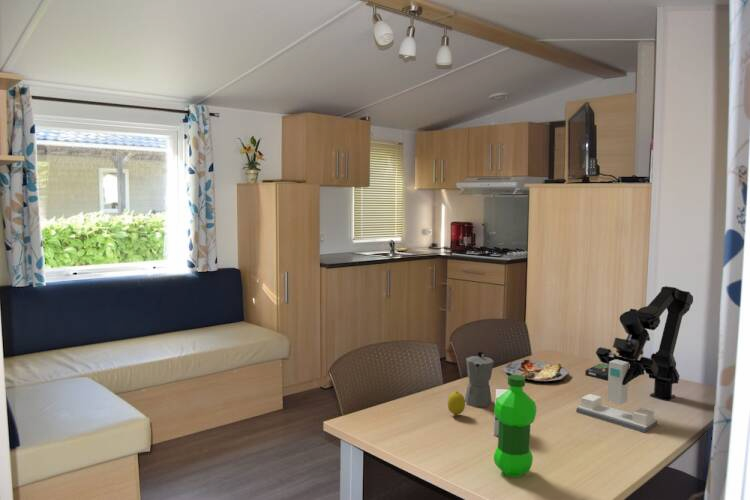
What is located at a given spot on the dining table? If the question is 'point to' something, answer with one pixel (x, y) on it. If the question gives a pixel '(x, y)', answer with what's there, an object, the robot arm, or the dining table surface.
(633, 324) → the robot arm
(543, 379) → the food plate
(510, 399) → the plastic bottle
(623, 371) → the block
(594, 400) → the rail board
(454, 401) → the lemon
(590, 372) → the disk drive
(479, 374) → the coffeepot
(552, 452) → the dining table surface
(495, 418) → the ink box
